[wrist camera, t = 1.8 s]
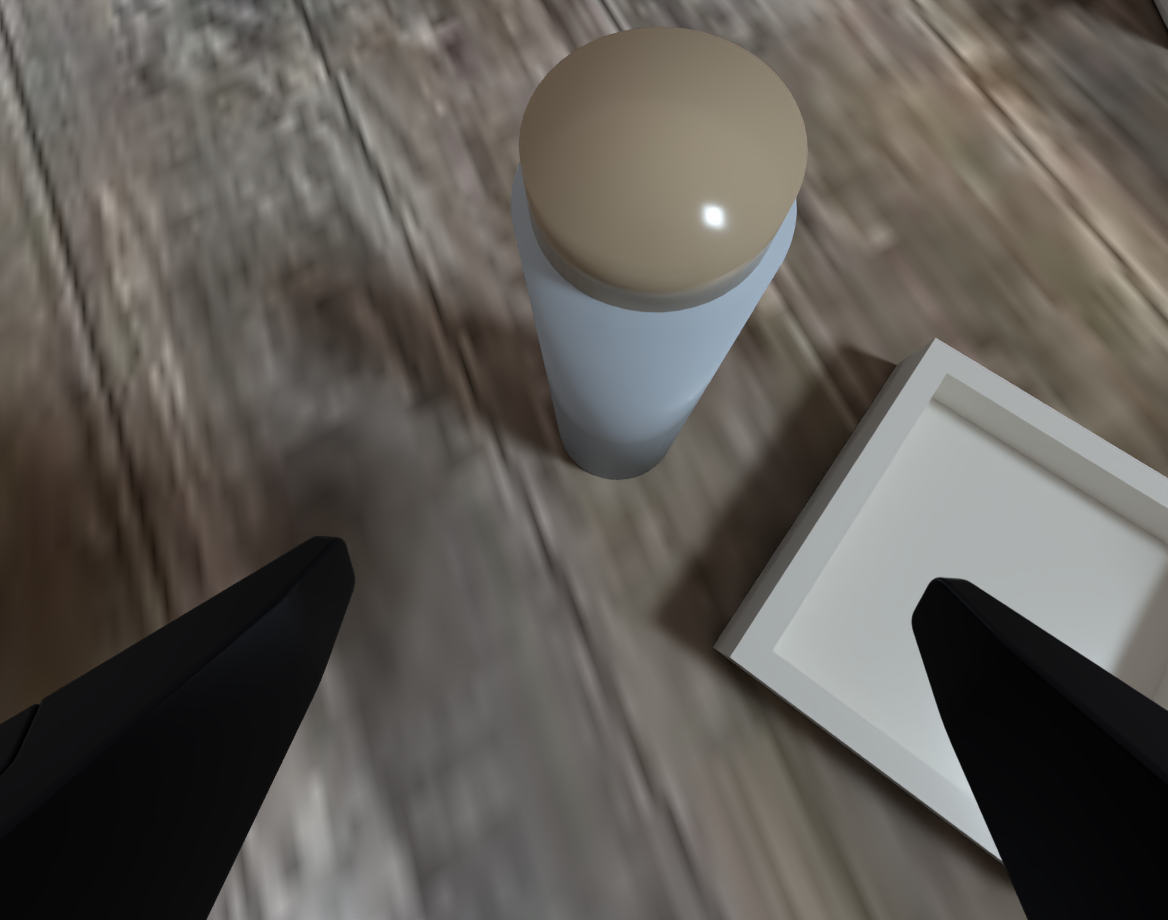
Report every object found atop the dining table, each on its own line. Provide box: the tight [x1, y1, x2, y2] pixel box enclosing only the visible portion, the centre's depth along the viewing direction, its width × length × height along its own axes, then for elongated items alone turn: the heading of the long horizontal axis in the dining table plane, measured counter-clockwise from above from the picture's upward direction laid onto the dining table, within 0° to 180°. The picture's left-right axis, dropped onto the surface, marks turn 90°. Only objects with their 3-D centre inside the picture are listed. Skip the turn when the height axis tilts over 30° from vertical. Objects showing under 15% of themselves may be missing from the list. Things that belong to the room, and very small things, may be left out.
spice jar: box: [511, 27, 808, 480], centre depth 15 cm, size 5×5×14 cm
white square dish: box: [713, 338, 1168, 865], centre depth 18 cm, size 14×14×2 cm
